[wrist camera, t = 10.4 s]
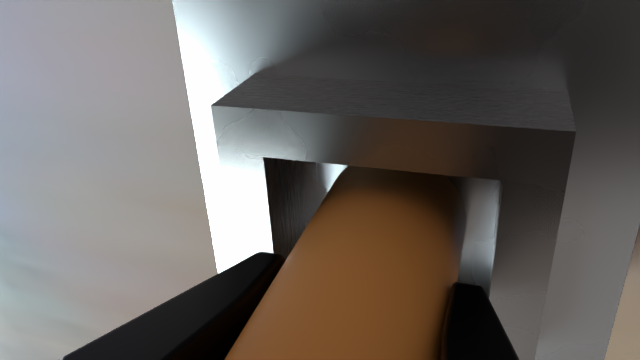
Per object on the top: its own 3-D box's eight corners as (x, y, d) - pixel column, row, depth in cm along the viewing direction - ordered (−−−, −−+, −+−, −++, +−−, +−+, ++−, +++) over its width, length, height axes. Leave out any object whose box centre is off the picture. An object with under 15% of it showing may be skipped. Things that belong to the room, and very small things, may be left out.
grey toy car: (689, -288, 9) (895, -493, 4) (571, 282, 15) (596, 496, 10) (255, -233, 12) (42, -320, 7) (295, 242, 17) (197, 397, 12)
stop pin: (471, 160, 9) (384, 636, 3) (461, 282, 11) (383, 786, 5) (325, 147, 10) (53, 519, 4) (330, 262, 11) (125, 676, 5)
